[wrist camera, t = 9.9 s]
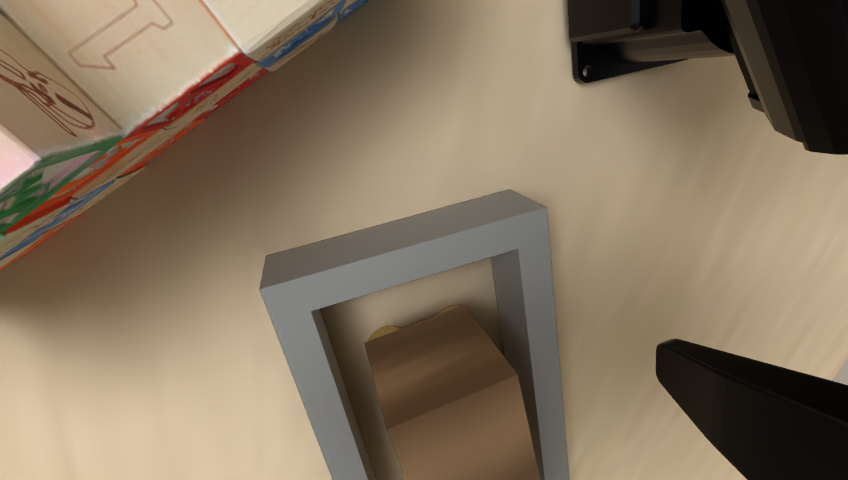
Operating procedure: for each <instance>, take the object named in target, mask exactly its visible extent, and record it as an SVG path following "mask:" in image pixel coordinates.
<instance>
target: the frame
mask: <svg viewBox="0 0 848 480" xmlns="http://www.w3.org/2000/svg"><path fill="white" fill-rule="evenodd" d="M489 257H491V264H492V271H493V278H494V285H495V292H496V298H497V305H498V312H499V319H500V326H501V333H502V340H503V347H504V354H505V358H506V360H507V361H508V362H509V364H510V365H511V366H512V368H513V369H514V370H515V372H516V373H517V374H518V378H519V382H520V387H521V392H522V397H523V401H524V406H525V411H526V415H527V420H528V425H529V430H530V434H531V439H532V444H533V448H534V453H535V458H536V462H537V467H538V472H539V477H540V480H569V468H568V456H567V444H566V432H565V420H564V408H563V396H562V385H561V373H560V361H559V349H558V337H557V325H556V313H555V301H554V289H553V278H552V266H551V254H550V242H549V230H548V218H547V207H545V206H543V205H541V204H539V203H537V202H535V201H533V200H531V199H529V198H527V197H525V196H522V195H520V194H518V193H516V192H514V191H512V190H510V189H509V190H505V191H502V192H498V193H494V194H491V195H487V196H483V197H480V198H476V199H472V200H469V201H465V202H461V203H458V204H454V205H450V206H447V207H443V208H439V209H436V210H432V211H428V212H425V213H421V214H418V215H414V216H410V217H407V218H403V219H399V220H396V221H392V222H388V223H385V224H381V225H377V226H374V227H370V228H366V229H363V230H359V231H355V232H352V233H348V234H344V235H341V236H337V237H333V238H330V239H326V240H322V241H319V242H315V243H311V244H308V245H304V246H300V247H297V248H293V249H290V250H286V251H282V252H279V253H275V254H271V255H268V256H266V258H265V263H264V268H263V273H262V278H261V283H260V289H259V290H260V292H261V295H262V298H263V300H264V303H265V305H266V308H267V311H268V313H269V316H270V318H271V321H272V324H273V326H274V329H275V331H276V334H277V337H278V339H279V342H280V344H281V347H282V350H283V352H284V355H285V357H286V360H287V363H288V365H289V368H290V370H291V373H292V376H293V378H294V381H295V383H296V386H297V389H298V391H299V394H300V396H301V399H302V402H303V404H304V407H305V409H306V412H307V415H308V417H309V420H310V422H311V425H312V428H313V430H314V433H315V435H316V438H317V441H318V443H319V446H320V448H321V451H322V454H323V456H324V459H325V461H326V464H327V467H328V469H329V472H330V474H331V477H332V480H376V478H375V475H374V472H373V469H372V466H371V463H370V460H369V457H368V454H367V451H366V448H365V445H364V442H363V439H362V436H361V433H360V430H359V426H358V423H357V420H356V417H355V414H354V411H353V408H352V405H351V402H350V399H349V396H348V393H347V390H346V387H345V384H344V381H343V378H342V375H341V372H340V369H339V366H338V363H337V360H336V357H335V354H334V351H333V348H332V345H331V342H330V338H329V335H328V332H327V329H326V326H325V323H324V320H323V317H322V314H321V311H320V308H323V307H327V306H330V305H333V304H337V303H340V302H343V301H346V300H350V299H353V298H356V297H360V296H363V295H366V294H370V293H373V292H376V291H380V290H383V289H386V288H389V287H393V286H396V285H399V284H403V283H406V282H409V281H413V280H416V279H419V278H423V277H426V276H429V275H432V274H436V273H439V272H442V271H446V270H449V269H452V268H456V267H459V266H462V265H466V264H469V263H472V262H476V261H479V260H482V259H485V258H489ZM456 307H459V306H458V305H453V306H448V307H446V308H444V309H442V310H441V311H440V312H439V313H438V314H441V313H443V312H446V311H449V310H451V309H454V308H456ZM438 314H437V315H438ZM399 329H400V328H398V327H395V326H386V327H382V328H380V329H378V330H377V331H375V332H374V333H373V334H372V335H371V336H370V338H369V340H368V341H370V340H373V339H376V338H378V337H381V336H383V335H386V334H389V333H391V332H394V331H396V330H399ZM400 465H401V464H400ZM401 469H402V467H401ZM402 472H403V469H402ZM403 476H404V480H406V477H405V475H404V472H403Z"/></svg>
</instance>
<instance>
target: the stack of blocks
mask: <svg viewBox="0 0 848 480" xmlns="http://www.w3.org/2000/svg"><path fill="white" fill-rule="evenodd" d="M367 1H368V0H0V270H2V269H3V268H5V267H6V266H8V265H10V264H11V263H13V262H15V261H16V260H18V259H19V258H21V257H23V256H24V255H26V254H27V253H29V252H30V251H31V250H33V249H34V248H35V247H37V246H38V245H39V244H41V243H42V242H44V241H45V240H46V239H48V238H49V237H51V236H52V235H53V234H55V233H56V232H57V231H59V230H60V229H61V228H63V227H64V226H65V225H67V224H68V223H70V222H71V221H72V220H74V219H75V218H76V217H78V216H79V215H81V214H82V213H83V212H84V211H86V210H87V209H89V208H90V207H92V206H93V205H95V204H96V203H98V202H99V201H100V200H102V199H103V198H105V197H106V196H107V195H109V194H110V193H112V192H113V191H114V190H116V189H117V188H118V187H120V186H121V185H123V184H124V183H125V182H127V181H128V180H129V179H131V178H132V177H134V176H135V175H136V174H138V173H139V172H140V171H142V170H143V169H144V168H146V166H147V163H148V161H149V160H150V159H151V158H153V157H154V156H156V155H158V154H159V153H161V152H162V151H163V150H164V149H166V148H167V147H168V146H170V145H171V144H172V143H174V142H175V141H177V140H178V139H179V138H181V137H182V136H183V135H185V134H186V133H187V132H189V131H190V130H191V129H193V128H194V127H196V126H197V125H198V124H200V123H201V122H203V121H204V120H205V119H206V118H207V116H208V115H209V114H210V113H211V112H213V111H214V110H216V109H217V108H219V107H220V106H221V105H223V104H224V103H226V102H227V101H228V100H230V99H231V98H232V97H234V96H235V95H236V94H238V93H239V92H240V91H242V90H243V89H244V88H246V87H247V86H249V85H250V84H251V83H253V82H254V81H255V80H257V79H258V78H259V77H261V76H262V75H264V74H265V73H266V72H267V71H271V72H272V71H275V70H277V69H278V68H280V67H281V66H282V65H284V64H285V63H286V62H288V61H289V60H291V59H292V58H293V57H295V56H296V55H297V54H299V53H300V52H302V51H303V50H304V49H306V48H307V47H308V46H310V45H311V44H312V43H314V42H315V41H317V40H318V39H319V38H321V37H322V36H323V35H325V34H326V33H327V32H329V31H330V30H332V29H333V27H334V26H335V25H336V24H337V23H338V22H340V21H341V20H342V19H344V18H345V17H347V16H348V15H349V14H351V13H352V12H353V11H355V10H356V9H358V8H359V7H360V6H362V5H363V4H364V3H366V2H367Z"/></svg>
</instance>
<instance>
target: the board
mask: <svg viewBox="0 0 848 480" xmlns="http://www.w3.org/2000/svg"><path fill="white" fill-rule="evenodd" d="M365 347H366V351H367V355H368V359H369V362H370V366H371V370H372V374H373V378H374V382H375V386H376V390H377V393H378V397H379V401H380V405H381V409H382V413H383V417H384V421H385V424H386V428H387V431H388V434H389V436H390V439H391V442H392V444H393V447H394V449H395V452H396V454H397V457H398V459H399V462H400V464H401V467H402V469H403V472H404V475H405V477H406V480H540V477H539V472H538V467H537V462H536V458H535V453H534V448H533V444H532V439H531V434H530V430H529V425H528V420H527V415H526V411H525V406H524V401H523V397H522V392H521V387H520V382H519V378H518V374H517V373H516V372H515V370H514V369H513V368H512V366H511V365H510V364H509V362H508V361H507V360H506V358H505V357H504V356H503V355H502V353H501V352H500V351H499V349H498V348H497V347H496V345H495V344H494V343H493V341H492V340H491V339H490V338H489V336H488V335H487V334H486V332H485V331H484V330H483V328H482V327H481V326H480V324H479V323H478V322H477V320H476V319H475V318H474V317H473V315H472V314H471V313H470V311H469V310H468V309H467V307H466V306H465V305H462V306H459V307H456V308H454V309H451V310H449V311H446V312H443V313H441V314H438V315H435V316H433V317H430V318H428V319H425V320H422V321H420V322H417V323H415V324H412V325H409V326H407V327H404V328H402V329H399V330H396V331H394V332H391V333H389V334H386V335H383V336H381V337H378V338H376V339H373V340H370V341H368V342H365Z"/></svg>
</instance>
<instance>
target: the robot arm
mask: <svg viewBox="0 0 848 480" xmlns="http://www.w3.org/2000/svg"><path fill="white" fill-rule="evenodd" d="M568 17H569V36H570V38H571V43H572V62H573V75H574V79H575V80H576V81H577V82H579V83H589V82H593V81H597V80H602V79H606V78H610V77H615V76H619V75H623V74H628V73H632V72H636V71H640V70H645V69H649V68H653V67H658V66H662V65H666V64H671V63H675V62H679V61H684V60H687V59H691V58H705V57H718V56H732V55H735V56H736V58H737V61H738V63H739V66H740V69H741V71H742V74H743V76H744V79H745V81H746V84H747V86H748V89H749V91H750V92H749V94H748V98H749V100H750V103H751V105H752V107H753V108H755V109H757V110H759V111H761V112H764V113H765V115H766V117H767V118H768V120H769V121H770V123H771V125H772V126H773V128H774V129H775V131H777V132H779V133H781V134H783V135H785V136H787V137H790V138H792V139H794V140H796V141H799V142H802V143H803V146H804V148H805V150H808V151H811V152H819V153H827V154H839V155H848V0H568ZM585 67H586V68H587V74H586V76H584V75H583V69H584V68H585ZM656 375H657V378H658V380H659V382H660V383H661V384H662V386H663V387H664V388H665V389H666V390H667V392H668V393H669V394H670V395H671V396H672V398H673V399H674V400H675V401H676V402H677V404H678V405H679V406H680V407H681V408H682V410H683V411H684V412H685V413H686V414H687V415H688V417H689V418H690V419H691V420H692V421H693V423H694V424H695V425H696V426H697V427H698V429H699V430H700V431H701V432H702V433H703V434H704V436H705V437H706V438H707V439H708V440H709V441H710V442H711V443H712V444H713V445H714V446H715V448H716V449H717V450H718V451H719V452H720V453H721V454H722V455H723V456H724V457H725V458H726V459H727V460H728V461H729V462H730V463H731V464H732V465H733V466H734V467H735V468H736V469H737V470H738V471H739V472H740V473H741V474H742V475H743V476H744V477H745V478H746V479H747V480H848V385H844V384H841V383H838V382H834V381H830V380H827V379H823V378H819V377H816V376H812V375H808V374H805V373H801V372H797V371H793V370H790V369H786V368H782V367H779V366H775V365H771V364H768V363H764V362H760V361H757V360H753V359H749V358H746V357H742V356H738V355H735V354H731V353H727V352H724V351H720V350H716V349H713V348H709V347H705V346H702V345H698V344H694V343H691V342H687V341H683V340H680V339H670V340H667V341H665V342H662V343H660V344H658V346H657V348H656Z"/></svg>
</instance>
